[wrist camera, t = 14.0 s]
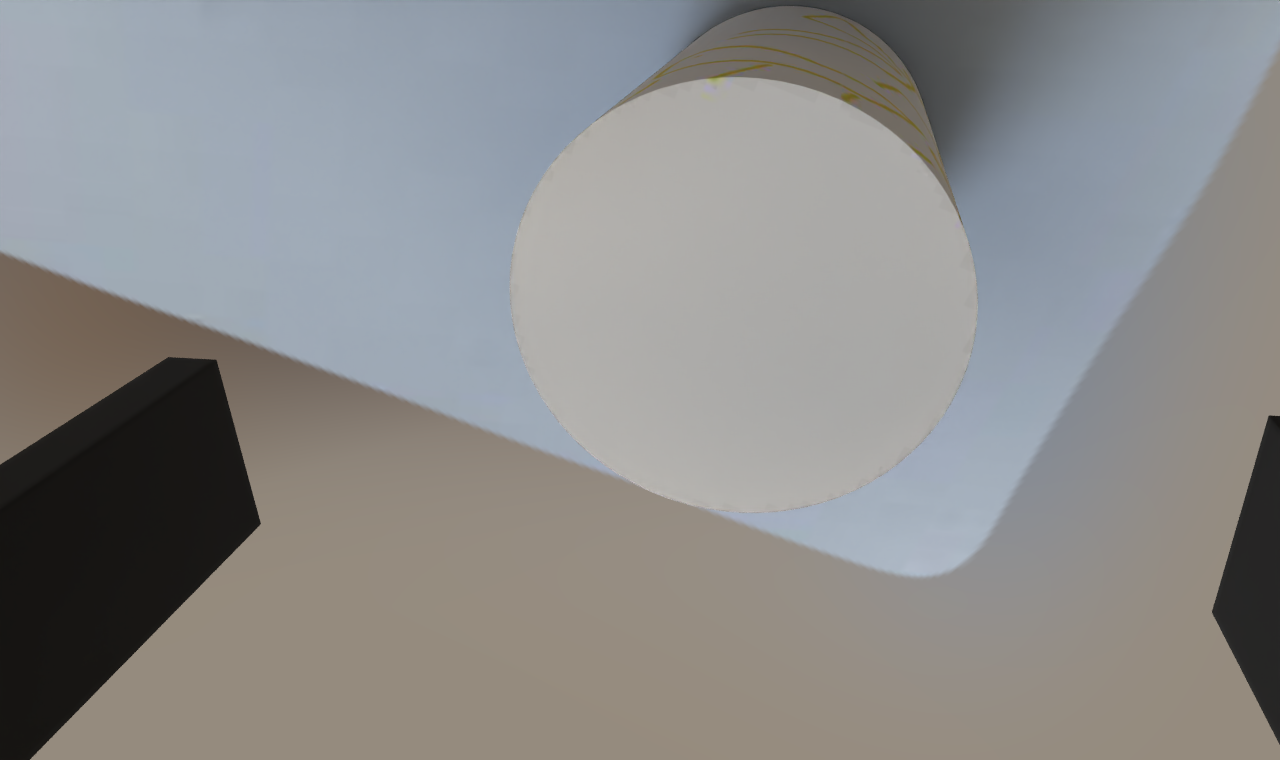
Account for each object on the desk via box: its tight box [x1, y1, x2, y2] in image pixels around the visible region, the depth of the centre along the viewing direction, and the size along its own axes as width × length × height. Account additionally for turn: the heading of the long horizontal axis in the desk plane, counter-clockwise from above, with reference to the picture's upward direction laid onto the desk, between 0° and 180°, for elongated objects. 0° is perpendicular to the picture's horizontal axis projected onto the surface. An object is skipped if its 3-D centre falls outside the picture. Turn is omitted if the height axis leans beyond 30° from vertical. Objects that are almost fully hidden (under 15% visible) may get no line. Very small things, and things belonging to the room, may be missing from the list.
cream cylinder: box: [510, 6, 978, 513], centre depth 21 cm, size 8×8×12 cm
